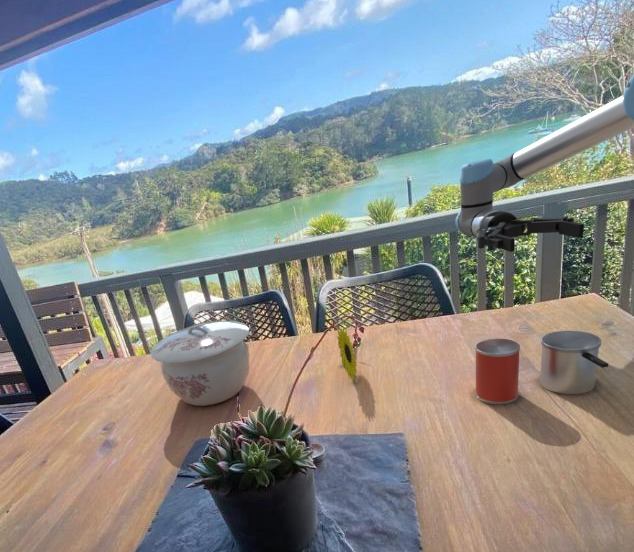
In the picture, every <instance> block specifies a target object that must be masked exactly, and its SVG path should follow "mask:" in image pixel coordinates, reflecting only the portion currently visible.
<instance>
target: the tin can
mask: <svg viewBox="0 0 634 552" xmlns="http://www.w3.org/2000/svg"><path fill="white" fill-rule="evenodd" d="M474 348H475V397H476V398H477V399H478V400H479V401H481V402H483V403H486V404H490V405H508V404H512V403H514V402H516V401H517V400H518V398H519V377H520V376H519V374H520V352H521V351H520V350H521V345H520V344H519V343H518V342H517V341H516V340H512V339H508V338H489V339H483V340H480V341H479V342H477V343H476V344H475V347H474Z"/></svg>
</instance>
